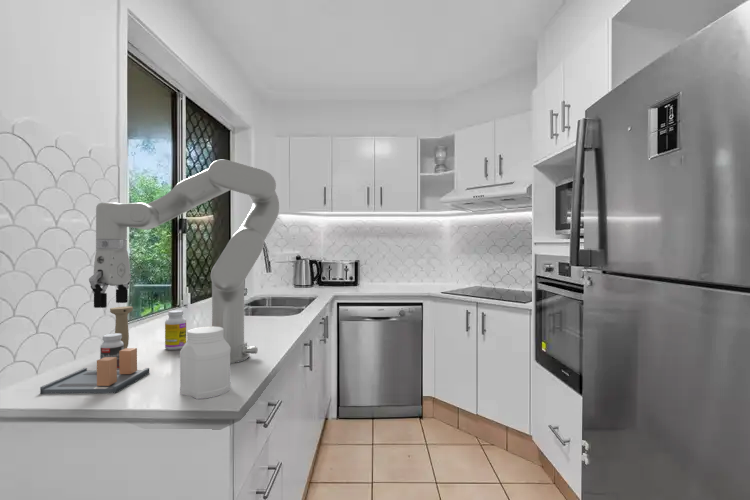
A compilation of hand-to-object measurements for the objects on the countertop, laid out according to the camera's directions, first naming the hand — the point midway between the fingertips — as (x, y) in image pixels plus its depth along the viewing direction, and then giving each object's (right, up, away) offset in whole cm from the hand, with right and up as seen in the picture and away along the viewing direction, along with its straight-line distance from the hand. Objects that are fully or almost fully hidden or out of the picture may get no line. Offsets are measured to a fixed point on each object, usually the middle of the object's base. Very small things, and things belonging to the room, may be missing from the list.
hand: (111, 305), depth 117 cm
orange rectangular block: (+9, -17, -7) cm, 21 cm away
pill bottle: (0, -19, 0) cm, 19 cm away
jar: (+34, -19, -17) cm, 43 cm away
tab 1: (+9, -17, -16) cm, 26 cm away
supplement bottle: (+7, -19, +24) cm, 31 cm away
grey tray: (+4, -19, -12) cm, 22 cm away
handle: (-8, -19, +18) cm, 27 cm away
